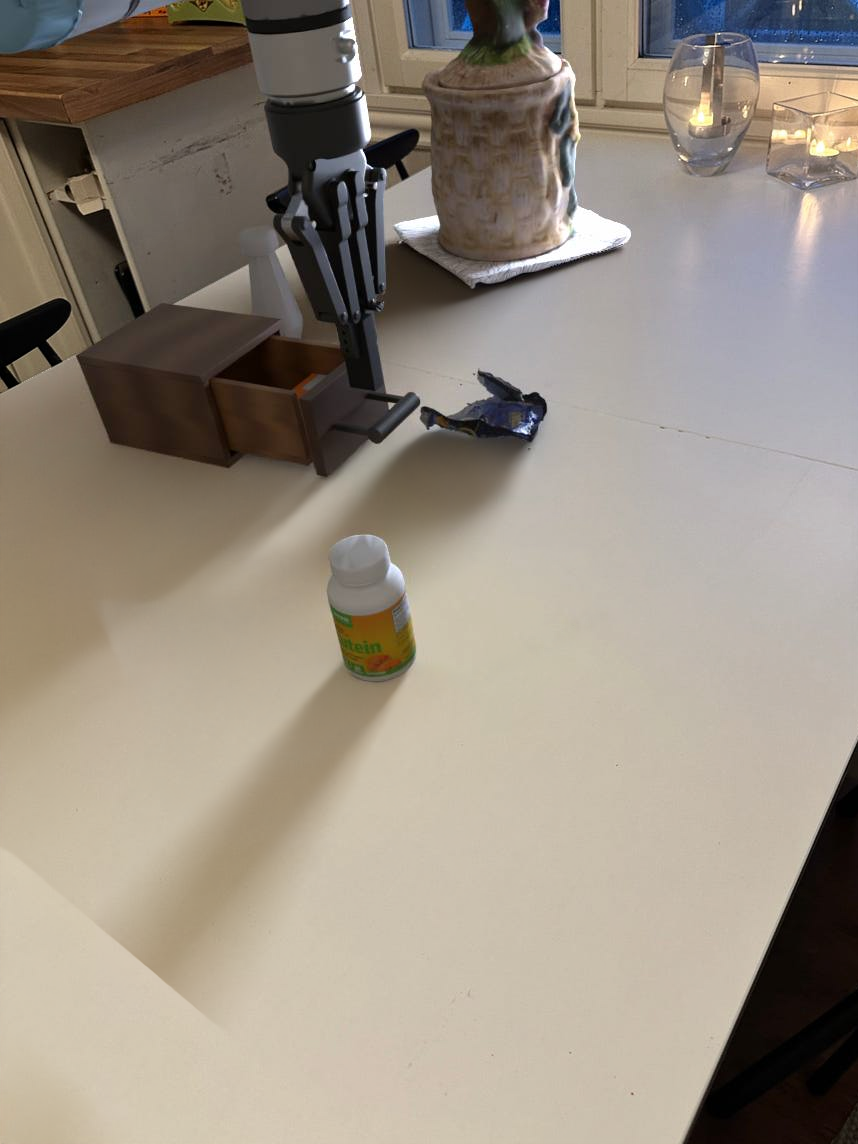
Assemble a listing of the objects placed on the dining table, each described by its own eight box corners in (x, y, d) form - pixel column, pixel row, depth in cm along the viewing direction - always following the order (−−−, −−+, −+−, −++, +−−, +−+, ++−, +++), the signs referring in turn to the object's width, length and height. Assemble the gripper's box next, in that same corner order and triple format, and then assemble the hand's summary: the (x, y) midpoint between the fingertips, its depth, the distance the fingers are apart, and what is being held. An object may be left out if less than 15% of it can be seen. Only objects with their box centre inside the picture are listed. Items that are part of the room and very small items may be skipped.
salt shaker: (267, 331, 116) (239, 220, 107) (312, 330, 115) (287, 218, 106) (252, 353, 112) (221, 240, 103) (299, 352, 111) (272, 237, 102)
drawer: (437, 426, 93) (426, 350, 88) (376, 488, 86) (360, 409, 80) (273, 397, 101) (255, 326, 96) (205, 452, 93) (180, 378, 88)
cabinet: (303, 407, 100) (281, 318, 94) (228, 468, 92) (200, 376, 86) (188, 386, 107) (161, 302, 100) (110, 442, 99) (75, 355, 92)
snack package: (474, 391, 100) (401, 440, 93) (478, 335, 95) (401, 381, 88) (570, 436, 95) (500, 491, 88) (579, 379, 90) (506, 432, 84)
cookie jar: (474, 295, 118) (443, -15, 97) (389, 242, 135) (347, -33, 113) (637, 243, 126) (642, -55, 104) (538, 199, 142) (525, -66, 121)
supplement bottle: (332, 675, 69) (302, 569, 63) (364, 628, 73) (340, 523, 66) (399, 690, 67) (376, 582, 61) (429, 640, 71) (410, 533, 65)
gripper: (303, 117, 65) (363, 427, 80) (401, 69, 73) (438, 359, 89) (217, 114, 68) (291, 413, 83) (320, 68, 76) (369, 348, 92)
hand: (367, 385), depth 86 cm, fingers closed
